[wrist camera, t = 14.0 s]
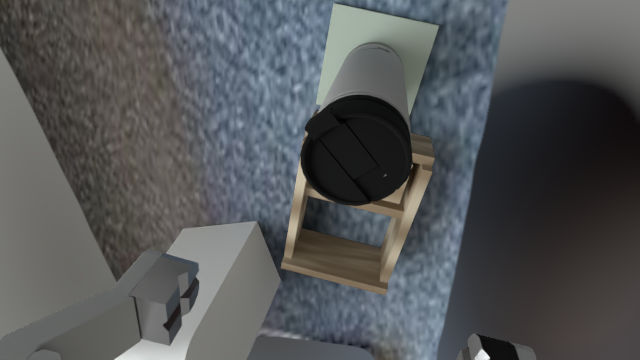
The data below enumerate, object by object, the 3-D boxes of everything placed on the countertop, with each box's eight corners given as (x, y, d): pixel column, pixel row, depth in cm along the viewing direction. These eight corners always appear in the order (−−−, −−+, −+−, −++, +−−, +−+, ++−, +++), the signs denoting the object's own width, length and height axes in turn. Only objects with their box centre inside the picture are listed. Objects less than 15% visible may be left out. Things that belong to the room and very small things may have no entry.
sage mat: (334, 2, 34) (333, 3, 33) (438, 25, 33) (439, 26, 33) (317, 102, 39) (315, 104, 39) (406, 122, 38) (406, 125, 38)
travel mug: (379, 24, 33) (366, 82, 17) (415, 81, 36) (437, 185, 19) (327, 64, 36) (270, 148, 19) (363, 115, 38) (341, 231, 21)
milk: (213, 284, 58) (103, 478, 36) (183, 228, 53) (33, 416, 31) (281, 280, 55) (206, 491, 33) (257, 221, 49) (148, 424, 27)
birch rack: (315, 110, 40) (302, 135, 34) (430, 137, 39) (437, 167, 33) (294, 231, 49) (280, 268, 43) (385, 255, 48) (385, 295, 43)
